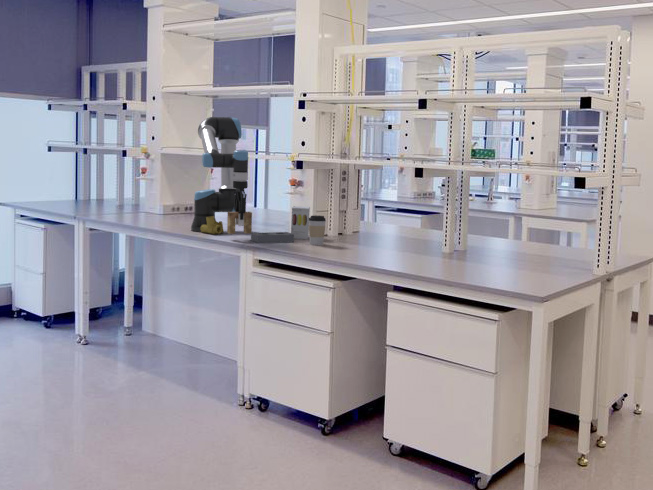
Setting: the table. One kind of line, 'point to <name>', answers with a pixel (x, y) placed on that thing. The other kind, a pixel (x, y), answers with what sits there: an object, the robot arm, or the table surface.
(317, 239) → the coffee cup
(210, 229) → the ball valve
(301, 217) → the supplement box
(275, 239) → the grey tray
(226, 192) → the robot arm
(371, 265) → the table surface
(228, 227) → the clip
